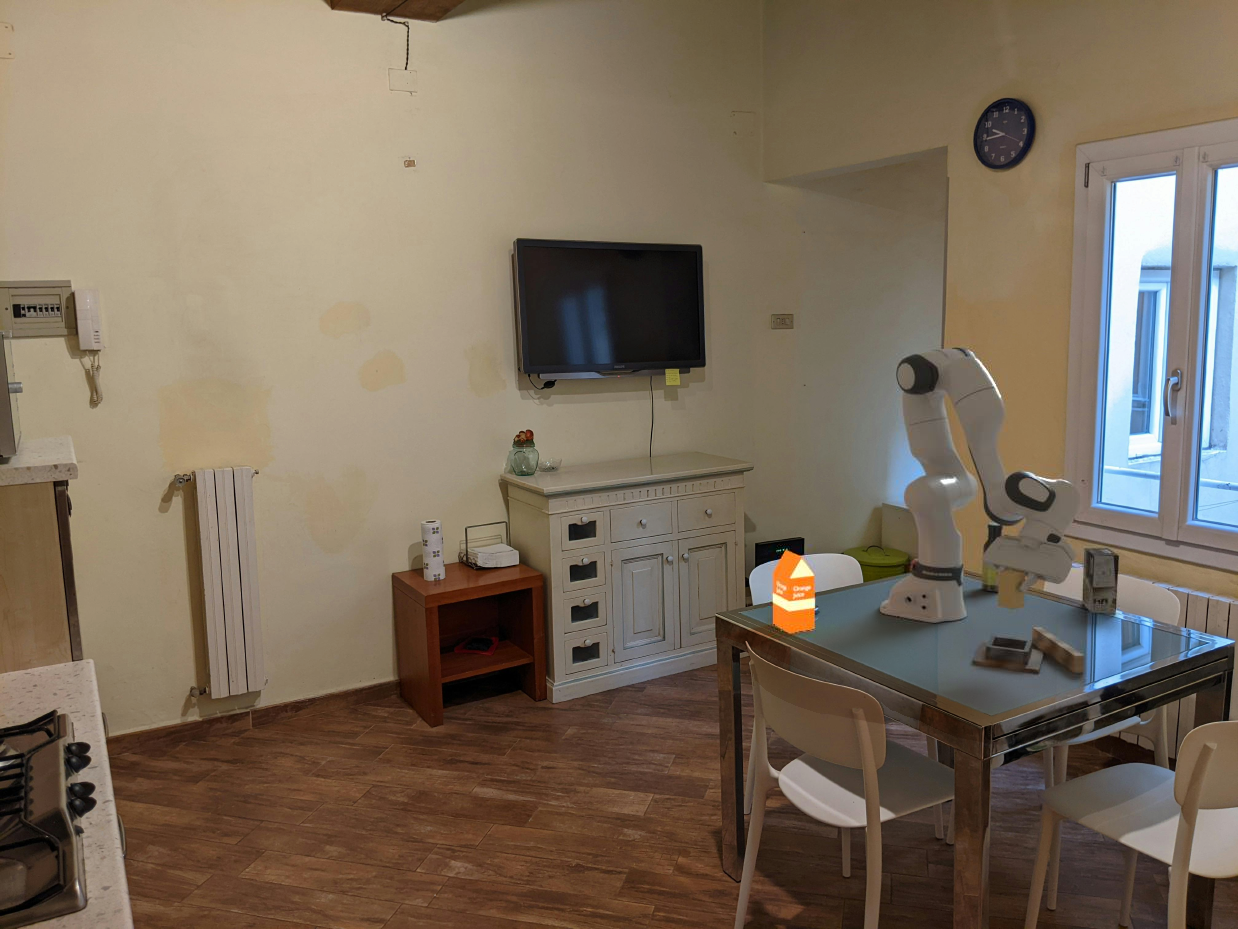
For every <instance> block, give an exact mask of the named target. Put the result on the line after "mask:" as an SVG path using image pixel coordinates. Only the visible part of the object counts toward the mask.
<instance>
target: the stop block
mask: <svg viewBox="0 0 1238 929" xmlns="http://www.w3.org/2000/svg"><path fill="white" fill-rule="evenodd" d="M1025 580H1026V577H1025V573H1022V572H1018V571H1014V570H1006V571H1002V572H999V583H998V593H997V606H998V607H1001V608H1005V609H1009V610H1012V611H1013V610H1017V609H1021V608H1024V607H1025V594H1026V592H1025V593H1022V592H1019V591H1018V590H1017V589H1016V587H1017V585H1018V583H1019V582H1024V581H1025Z"/></svg>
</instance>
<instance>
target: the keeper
mask: <svg viewBox="0 0 1238 929" xmlns="http://www.w3.org/2000/svg"><path fill="white" fill-rule="evenodd" d="M1044 656H1045V652H1044V650H1041V649H1037V648H1036V649H1034V648H1033V643H1032V639H1026V638H1019V637H1011V636H1003V635H994V634H990V637H989V639H988V641H987V642H980V645H979V647H978V649H977V650H976V653H975V655H974V657H973V658H972V665H976V666H977V665H978V666H984V667H989V668H990V667H991V668H996V669H997V668H999V669H1005V670H1010V671H1019V672H1027V673H1034V674H1040V669H1041V667H1042V663H1043V661H1044V660H1043V659H1044Z"/></svg>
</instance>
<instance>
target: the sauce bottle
mask: <svg viewBox="0 0 1238 929" xmlns="http://www.w3.org/2000/svg"><path fill="white" fill-rule="evenodd" d="M1003 528H1004V526H1002V525H999V524H997V523H995V522H989V523H988V524H987V531H988V532H987V540H986V541H985V543H984V544H983V549H982V550H983V552H982V556H983V555H984V553H985V552H986V550H987V549H988V548H989V546H990V545H991V544H992V543H993V542H994V541H995V539H996V538H997V537H1000V536H1003V535H1002V534H1003ZM981 568H982V569H981V583H982V584H981V589H982V590H984V591H987V592H995V593H996V592H998V586H997V584H996V581H997V579H998V578H999V576H998V570H994V569H990V568H988V567H987V566H986V565H985V564H984V562H983V561H982V566H981Z"/></svg>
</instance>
